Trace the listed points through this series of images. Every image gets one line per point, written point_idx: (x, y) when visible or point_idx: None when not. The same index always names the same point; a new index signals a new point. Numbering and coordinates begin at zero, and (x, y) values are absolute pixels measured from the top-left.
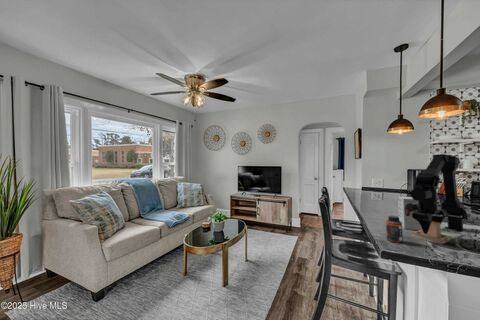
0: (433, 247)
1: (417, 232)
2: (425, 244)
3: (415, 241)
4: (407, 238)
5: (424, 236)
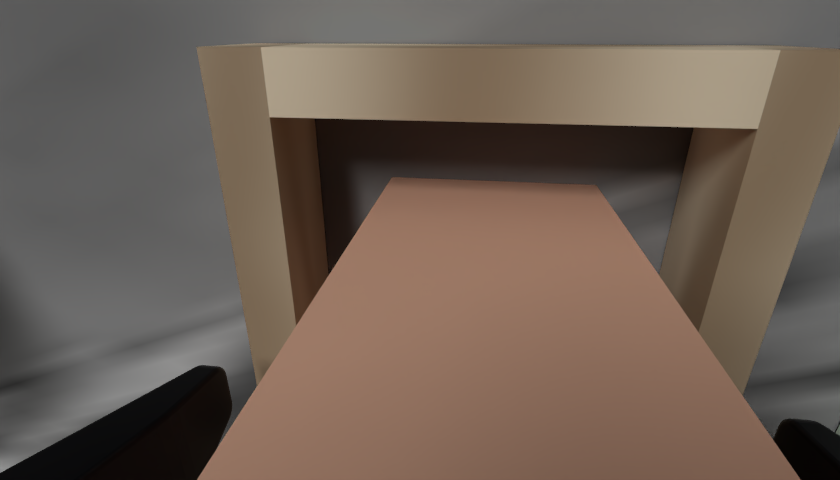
0: None
1: (401, 119)
2: (73, 358)
3: (43, 228)
4: (42, 60)
5: (258, 315)
